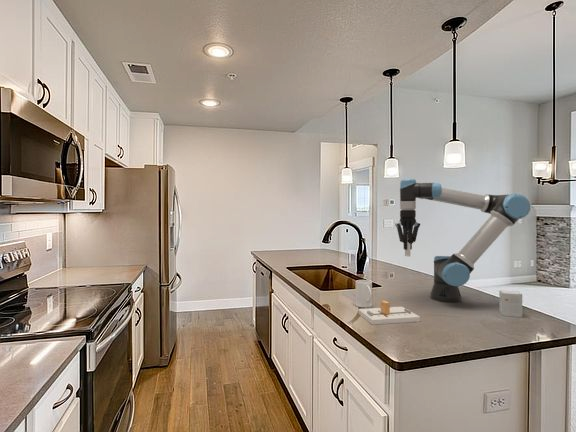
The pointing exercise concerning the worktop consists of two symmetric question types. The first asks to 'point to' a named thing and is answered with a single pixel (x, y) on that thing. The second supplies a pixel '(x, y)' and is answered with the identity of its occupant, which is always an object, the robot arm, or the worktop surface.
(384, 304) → the fader
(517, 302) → the small box
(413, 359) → the worktop surface
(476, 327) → the worktop surface
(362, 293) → the mug
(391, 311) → the console
